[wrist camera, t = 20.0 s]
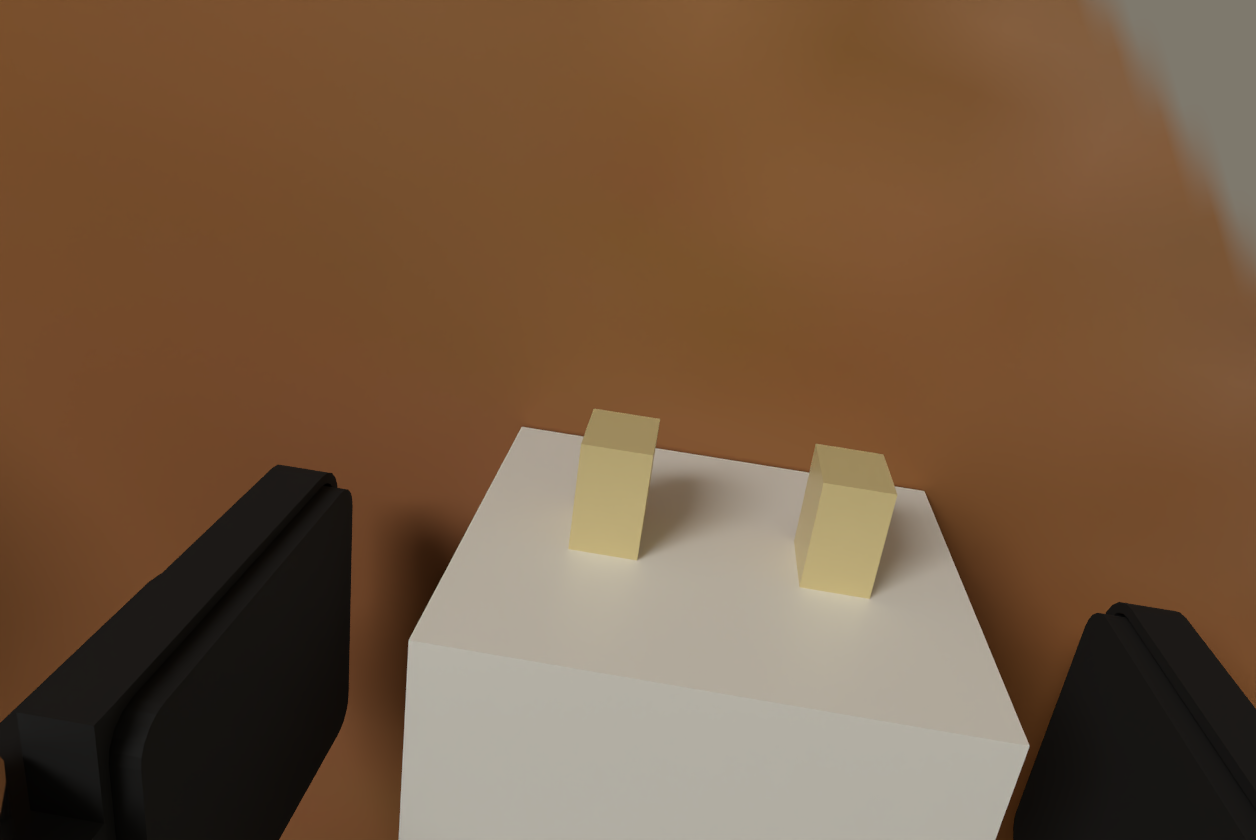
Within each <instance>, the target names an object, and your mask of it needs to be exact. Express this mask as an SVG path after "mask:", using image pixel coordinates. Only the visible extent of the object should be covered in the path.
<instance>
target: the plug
mask: <svg viewBox="0 0 1256 840" xmlns="http://www.w3.org/2000/svg"><path fill="white" fill-rule="evenodd" d="M659 423H660V419H656V418H650V417H644V416H637V415H631V414H625V413H618V412H612V411H606V410H600V409H594V410H593V413H592V415H591V418H590V421H589V424H588V426H587V429H586V432H585V435H584V437H583V436H577V435H570V434H564V433H558V432H552V431H545V430H539V429H533V428H527V427H521V429H520V431H519V433H518V435H517V437H516V439H515V441H514V442H513V444H512V446H511V448H510V450H509V452H508V454H507V456H506V457H505V459H504V461H503V463H502V465H501V467H500V469H499V471H498V473H497V474H496V476H495V478H494V480H493V482H492V484H491V486H490V488H489V490H488V491H487V493H486V495H485V497H484V499H483V501H482V503H481V505H480V506H479V508H478V510H477V512H476V514H475V516H474V518H473V520H472V522H471V523H470V525H469V527H468V529H467V531H466V533H465V535H464V537H463V539H462V540H461V542H460V544H459V546H458V548H457V550H456V552H455V554H454V556H453V557H452V559H451V561H450V563H449V565H448V567H447V569H446V571H445V572H444V574H443V576H442V578H441V580H440V582H439V584H438V586H437V588H436V589H435V591H434V593H433V595H432V597H431V599H430V601H429V603H428V605H427V606H426V608H425V610H424V612H423V614H422V616H421V618H420V620H419V621H418V623H417V625H416V627H415V629H414V631H413V633H412V635H411V637H410V638H409V642H408V662H407V682H406V702H405V723H404V743H403V763H402V783H401V803H400V823H399V840H995V839H996V837H997V834H998V831H999V828H1000V826H1001V823H1002V820H1003V817H1004V815H1005V812H1006V809H1007V807H1008V804H1009V801H1010V798H1011V796H1012V793H1013V790H1014V787H1015V785H1016V782H1017V779H1018V777H1019V774H1020V771H1021V768H1022V766H1023V763H1024V760H1025V757H1026V755H1027V752H1028V749H1029V747H1030V746H1029V743H1028V741H1027V739H1026V736H1025V734H1024V731H1023V729H1022V726H1021V724H1020V722H1019V719H1018V717H1017V714H1016V712H1015V710H1014V707H1013V705H1012V702H1011V700H1010V697H1009V695H1008V693H1007V690H1006V688H1005V685H1004V683H1003V680H1002V678H1001V676H1000V673H999V671H998V668H997V666H996V664H995V661H994V659H993V656H992V654H991V651H990V649H989V647H988V644H987V642H986V639H985V637H984V635H983V632H982V630H981V627H980V625H979V622H978V620H977V618H976V615H975V613H974V610H973V608H972V605H971V603H970V601H969V598H968V596H967V593H966V591H965V589H964V586H963V584H962V581H961V579H960V576H959V574H958V572H957V569H956V567H955V564H954V562H953V560H952V557H951V555H950V552H949V550H948V547H947V545H946V543H945V540H944V538H943V535H942V533H941V530H940V528H939V526H938V523H937V521H936V518H935V516H934V514H933V511H932V509H931V506H930V504H929V501H928V499H927V497H926V494H925V492H924V491H920V490H914V489H908V488H902V487H895V486H894V483H893V481H892V478H891V475H890V472H889V469H888V466H887V464H886V461H885V458H884V455H883V454H877V453H871V452H864V451H858V450H852V449H845V448H839V447H833V446H826V445H820V444H816V445H815V450H814V454H813V459H812V463H811V468H810V472H809V473H808V472H802V471H795V470H789V469H783V468H777V467H770V466H764V465H758V464H752V463H745V462H739V461H733V460H727V459H720V458H714V457H708V456H702V455H695V454H689V453H683V452H677V451H670V450H664V449H658V448H656V442H657V436H658V429H659Z"/></svg>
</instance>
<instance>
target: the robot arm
mask: <svg viewBox="0 0 1256 840" xmlns="http://www.w3.org/2000/svg"><path fill="white" fill-rule="evenodd" d="M351 550H352V496H351V493H350V491H349V490H346V489H340V488H337V482H336V479H335V477H334V475H333V474H332V473H327V472H321V471H314V470H308V469H302V468H296V467H290V466H284V465H277V466H275V467H273V468H272V469H271V470H270V471H269V472H268V473H267V474H266V475H265V476H264V477H262V478H261V479H260V480H259V481H258V482H257V483H256V484H255V485H254V486H253V487H252V488H251V489H250V490H249V491H248V492H247V493H246V494H245V495H244V496H243V497H241V498H240V499H239V500H238V501H237V502H236V503H235V504H234V505H233V506H232V507H231V508H230V509H229V510H228V511H227V512H226V513H225V514H224V515H223V516H222V517H221V518H219V519H218V520H217V521H216V522H215V523H214V524H213V525H212V526H211V527H210V528H209V529H208V530H207V531H206V532H205V533H204V534H203V535H202V536H201V537H200V538H198V539H197V540H196V541H195V542H194V543H193V544H192V545H191V546H190V547H189V548H188V549H187V550H186V551H185V552H184V553H183V554H182V555H181V556H180V557H179V558H178V559H176V560H175V561H174V562H173V563H172V564H171V565H170V566H169V567H168V568H167V569H166V570H165V571H164V572H163V573H162V574H160V575H158V576H157V577H155V578H154V579H153V580H151V581H150V582H149V583H147V584H146V585H145V586H144V587H143V588H142V589H141V590H140V591H139V592H138V593H137V594H136V595H135V596H134V597H133V598H132V599H131V600H130V601H128V602H127V603H126V604H125V605H124V606H123V607H122V608H121V609H120V610H119V611H118V612H117V613H116V614H115V615H114V616H113V617H112V618H111V619H109V620H108V621H107V622H106V623H105V624H104V625H103V626H102V627H101V628H100V629H99V630H98V631H97V632H96V633H95V634H94V635H93V636H92V637H90V638H89V639H88V640H87V641H86V642H85V643H84V644H83V645H82V646H81V647H80V648H79V649H78V650H77V651H76V652H75V653H74V654H73V655H71V656H70V657H69V658H68V659H67V660H66V661H65V662H64V663H63V664H62V665H61V666H60V667H59V668H58V669H57V670H56V671H55V672H54V673H52V674H51V675H50V676H49V677H48V678H47V679H46V680H45V681H44V682H43V683H42V684H41V685H40V686H39V687H38V688H37V689H36V690H35V691H33V692H32V693H31V694H30V695H29V696H28V697H27V698H26V699H25V700H24V701H23V702H22V703H21V704H20V705H19V706H18V707H17V708H16V709H14V710H13V711H12V712H11V713H10V714H9V715H8V716H7V717H6V718H5V719H4V720H3V721H2V722H1V723H0V840H279V839H280V837H281V835H282V833H283V832H284V830H285V828H286V826H287V824H288V823H289V821H290V819H291V817H292V815H293V814H294V812H295V810H296V808H297V807H298V805H299V803H300V801H301V799H302V798H303V796H304V794H305V792H306V790H307V789H308V787H309V785H310V783H311V782H312V780H313V778H314V776H315V774H316V773H317V771H318V769H319V767H320V765H321V764H322V762H323V760H324V758H325V757H326V755H327V753H328V751H329V749H330V748H331V746H332V744H333V742H334V740H335V739H336V737H337V735H338V733H339V731H340V729H341V726H342V724H343V721H344V717H345V714H346V709H347V704H348V691H349V644H350V597H351ZM1013 838H1014V840H1256V709H1255V707H1254V706H1253V705H1252V703H1251V702H1250V701H1249V700H1248V698H1247V697H1246V696H1245V694H1244V693H1243V692H1242V690H1241V689H1240V688H1239V687H1238V685H1237V684H1236V683H1235V681H1234V680H1233V679H1232V677H1231V676H1230V675H1229V674H1228V672H1227V671H1226V670H1225V668H1224V667H1223V666H1222V664H1221V663H1220V662H1219V661H1218V659H1217V658H1216V657H1215V655H1214V654H1213V653H1212V651H1211V650H1210V649H1209V647H1208V646H1207V645H1206V644H1205V642H1204V641H1203V640H1202V638H1201V637H1200V636H1199V634H1198V633H1197V632H1196V631H1195V629H1194V628H1193V627H1192V625H1191V624H1190V623H1189V621H1188V620H1187V619H1186V618H1185V617H1184V616H1183V615H1182V614H1181V613H1180V612H1176V611H1170V610H1164V609H1158V608H1152V607H1146V606H1140V605H1134V604H1128V603H1122V602H1118V603H1116V604H1114V605H1112V606H1111V607H1110V608H1109V610H1108V611H1107V612H1106V614H1101V613H1096V614H1094V615H1092V616H1091V618H1090V619H1089V620H1088V622H1087V624H1086V626H1085V629H1084V631H1083V634H1082V637H1081V639H1080V642H1079V645H1078V647H1077V650H1076V653H1075V655H1074V658H1073V661H1072V664H1071V666H1070V669H1069V672H1068V674H1067V677H1066V680H1065V682H1064V685H1063V688H1062V690H1061V693H1060V696H1059V698H1058V701H1057V704H1056V707H1055V709H1054V712H1053V715H1052V717H1051V720H1050V723H1049V725H1048V728H1047V731H1046V733H1045V736H1044V739H1043V741H1042V744H1041V747H1040V749H1039V752H1038V755H1037V758H1036V760H1035V763H1034V766H1033V768H1032V771H1031V774H1030V776H1029V779H1028V782H1027V784H1026V787H1025V790H1024V792H1023V795H1022V798H1021V801H1020V803H1019V806H1018V809H1017V811H1016V815H1015V819H1014V827H1013Z"/></svg>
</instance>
